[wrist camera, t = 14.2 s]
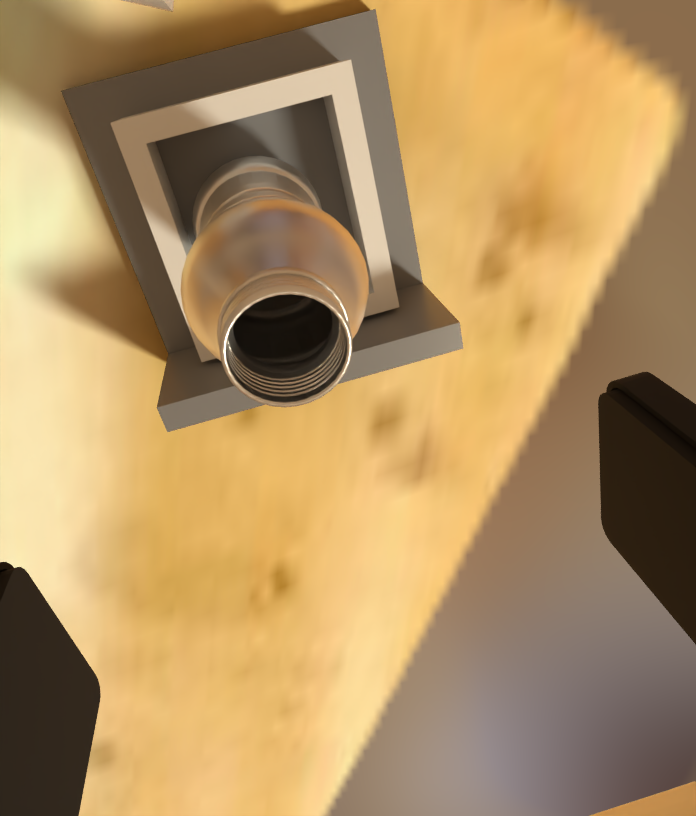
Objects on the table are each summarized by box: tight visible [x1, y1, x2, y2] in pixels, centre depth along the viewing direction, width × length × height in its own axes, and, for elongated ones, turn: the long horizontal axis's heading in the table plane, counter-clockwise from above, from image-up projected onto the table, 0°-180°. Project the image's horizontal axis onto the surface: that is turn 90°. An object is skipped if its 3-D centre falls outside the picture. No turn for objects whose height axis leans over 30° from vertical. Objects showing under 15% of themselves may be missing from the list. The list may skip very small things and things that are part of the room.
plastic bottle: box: [180, 156, 369, 407], centre depth 26 cm, size 6×7×20 cm
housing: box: [61, 9, 463, 432], centre depth 32 cm, size 16×16×8 cm
